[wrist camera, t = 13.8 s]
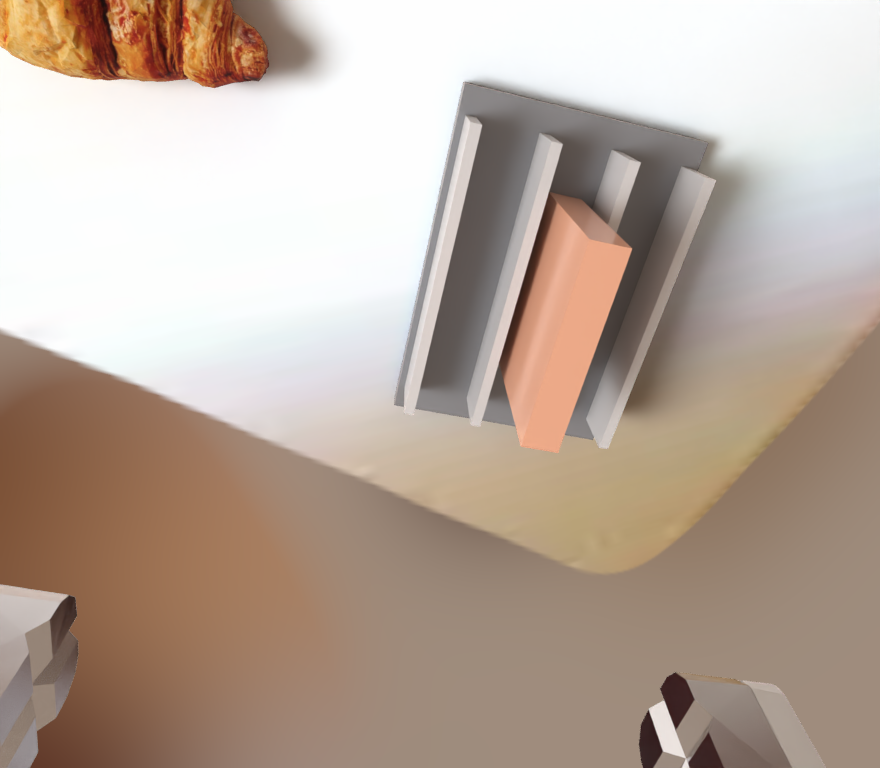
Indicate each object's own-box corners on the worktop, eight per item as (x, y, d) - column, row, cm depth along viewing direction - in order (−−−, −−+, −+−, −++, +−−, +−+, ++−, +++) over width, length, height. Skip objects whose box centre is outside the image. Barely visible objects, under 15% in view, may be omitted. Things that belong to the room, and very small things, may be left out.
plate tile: (548, 191, 38) (589, 239, 29) (581, 199, 38) (632, 248, 29) (498, 361, 43) (520, 446, 34) (528, 366, 43) (558, 452, 34)
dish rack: (463, 81, 36) (469, 87, 32) (699, 139, 38) (735, 152, 34) (394, 396, 45) (392, 433, 41) (588, 430, 47) (605, 469, 43)
